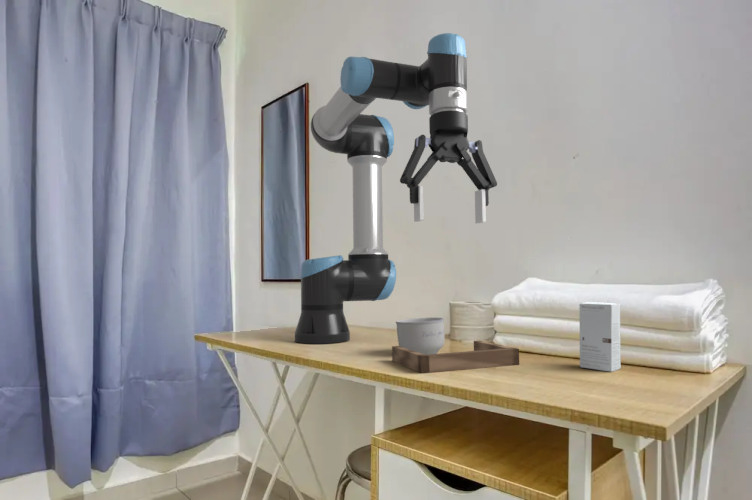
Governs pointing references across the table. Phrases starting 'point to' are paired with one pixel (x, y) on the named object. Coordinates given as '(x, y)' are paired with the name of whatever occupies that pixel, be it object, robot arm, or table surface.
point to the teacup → (421, 334)
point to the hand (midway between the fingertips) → (450, 222)
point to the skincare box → (600, 336)
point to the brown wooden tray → (457, 358)
